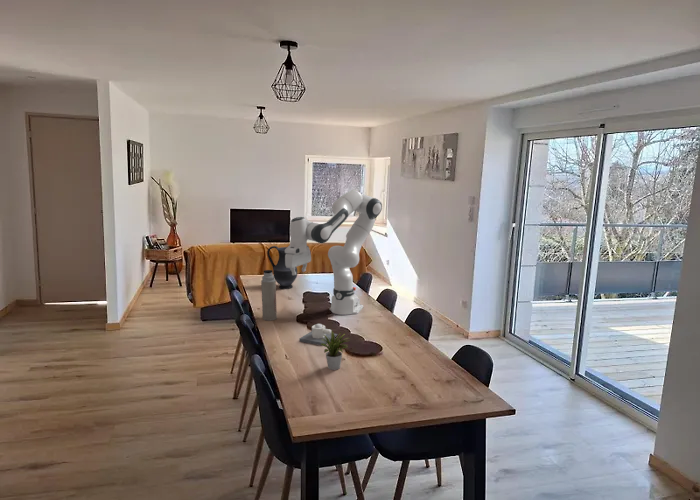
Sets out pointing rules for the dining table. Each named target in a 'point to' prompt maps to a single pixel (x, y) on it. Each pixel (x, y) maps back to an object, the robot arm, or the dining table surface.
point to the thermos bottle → (268, 296)
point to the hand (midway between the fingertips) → (299, 273)
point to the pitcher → (282, 269)
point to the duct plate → (310, 339)
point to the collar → (320, 332)
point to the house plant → (334, 351)
